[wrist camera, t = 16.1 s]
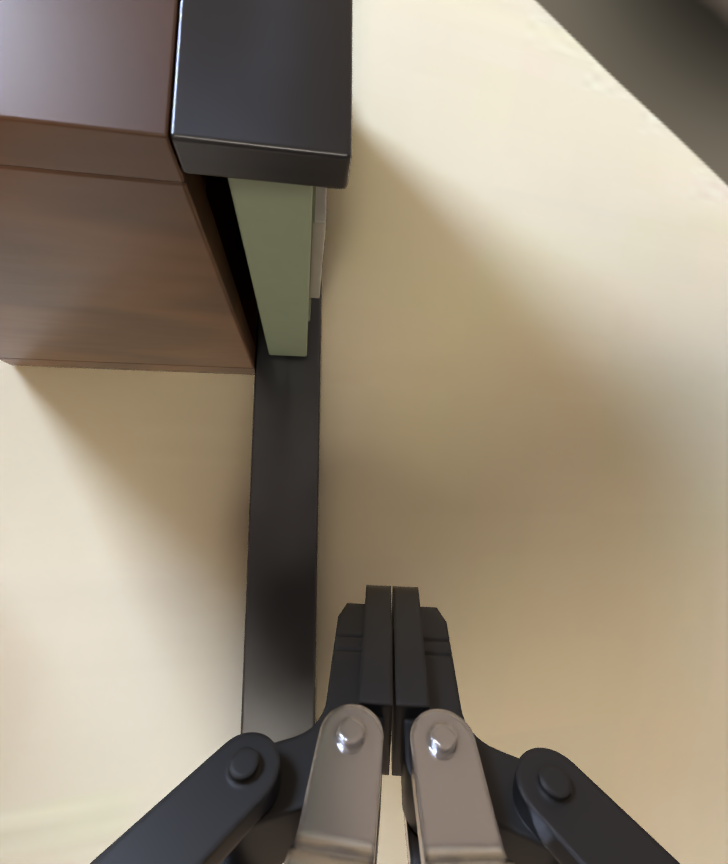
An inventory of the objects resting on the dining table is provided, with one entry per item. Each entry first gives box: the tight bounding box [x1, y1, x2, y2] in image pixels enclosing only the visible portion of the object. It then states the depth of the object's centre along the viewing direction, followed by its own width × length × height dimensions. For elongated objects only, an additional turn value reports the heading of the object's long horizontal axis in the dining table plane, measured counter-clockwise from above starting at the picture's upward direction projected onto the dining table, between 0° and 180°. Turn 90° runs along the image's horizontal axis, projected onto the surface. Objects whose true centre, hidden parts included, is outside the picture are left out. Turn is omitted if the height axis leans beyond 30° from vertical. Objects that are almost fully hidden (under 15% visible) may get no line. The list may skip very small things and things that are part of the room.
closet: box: [0, 0, 257, 375], centre depth 13 cm, size 10×16×13 cm, turn 0°
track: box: [170, 0, 352, 743], centre depth 13 cm, size 3×32×13 cm, turn 0°
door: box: [228, 178, 327, 356], centre depth 14 cm, size 2×15×11 cm, turn 0°
